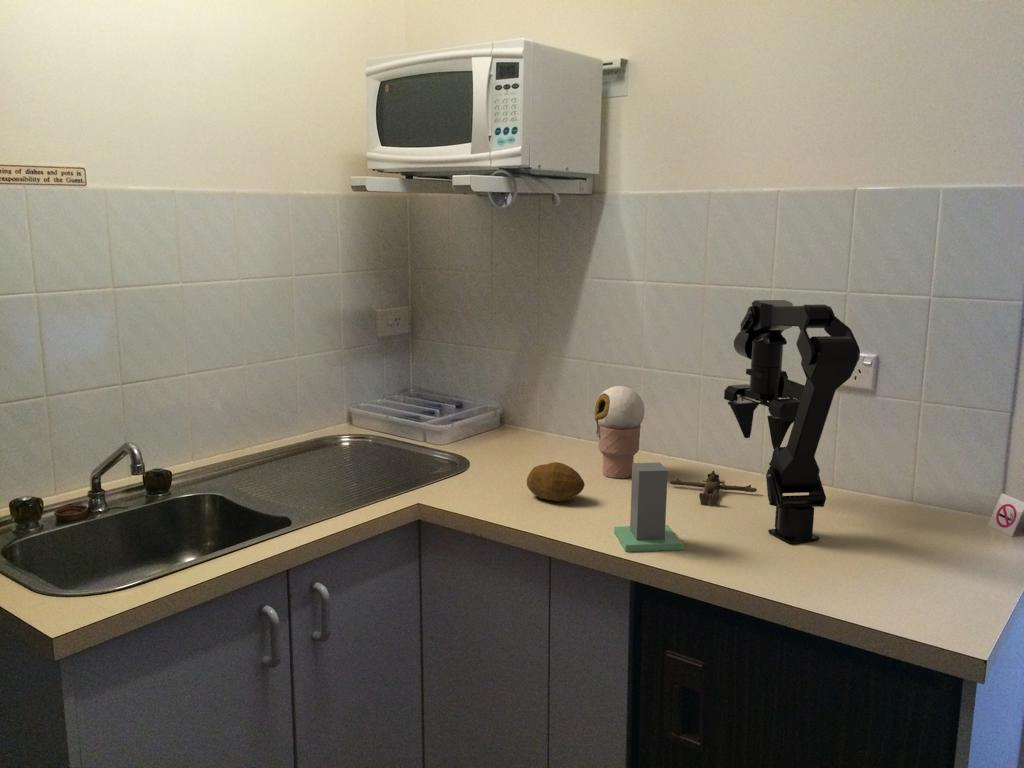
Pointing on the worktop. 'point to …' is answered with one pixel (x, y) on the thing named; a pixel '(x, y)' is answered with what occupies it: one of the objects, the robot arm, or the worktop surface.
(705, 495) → the brown clay figure
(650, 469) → the grey rectangular block
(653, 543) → the header board
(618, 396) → the ice cream cone
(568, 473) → the potato
